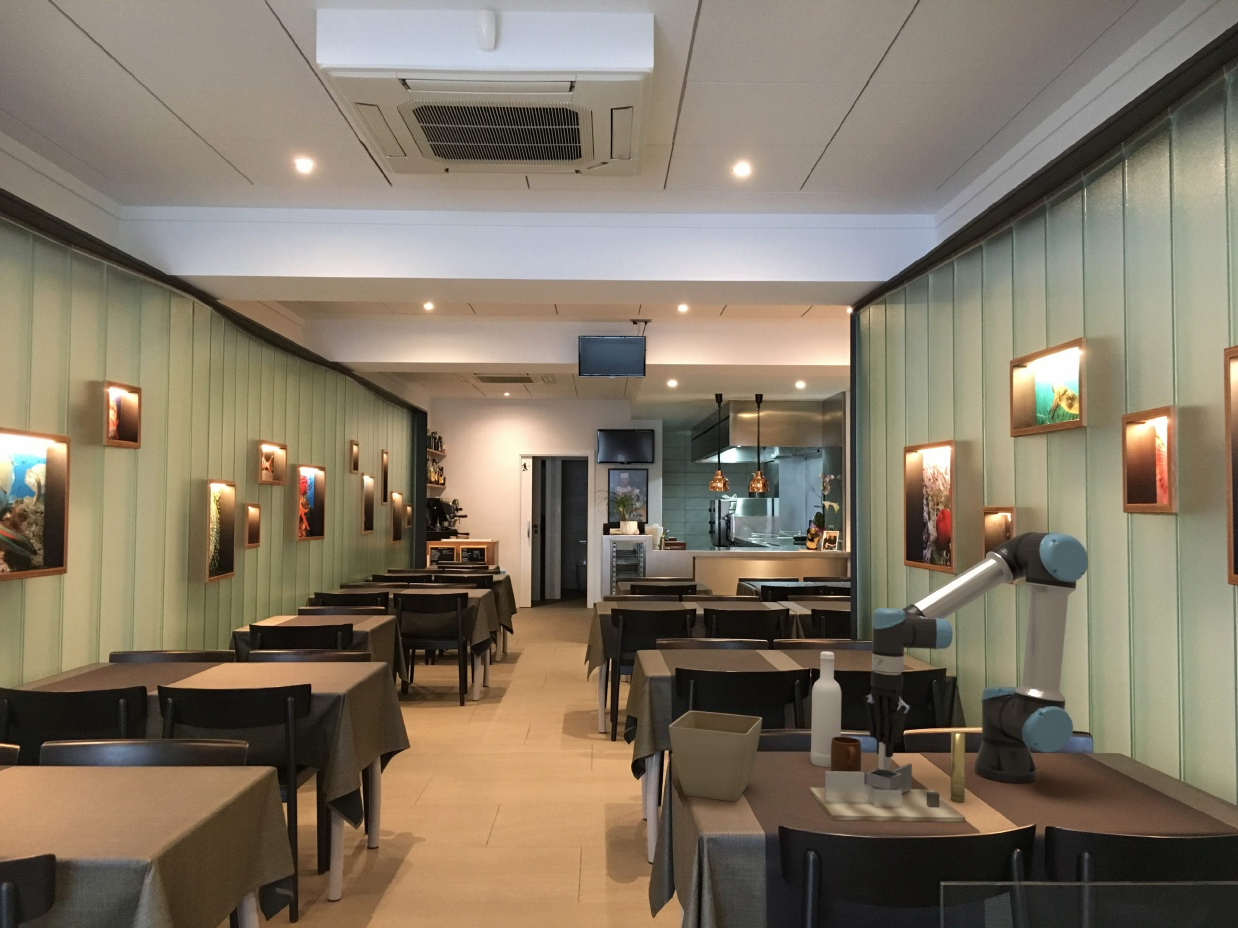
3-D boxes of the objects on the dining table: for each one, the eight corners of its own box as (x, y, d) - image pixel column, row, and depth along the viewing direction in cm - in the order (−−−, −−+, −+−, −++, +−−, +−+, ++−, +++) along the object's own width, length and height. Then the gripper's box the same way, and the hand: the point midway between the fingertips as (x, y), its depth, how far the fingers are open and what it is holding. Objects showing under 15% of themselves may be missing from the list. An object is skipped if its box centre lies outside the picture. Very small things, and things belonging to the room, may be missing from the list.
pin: (961, 798, 219) (962, 731, 220) (967, 802, 216) (967, 734, 217) (948, 798, 219) (949, 731, 220) (953, 802, 216) (954, 734, 217)
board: (931, 793, 222) (931, 789, 222) (965, 821, 202) (965, 817, 202) (810, 791, 221) (810, 787, 221) (832, 819, 201) (832, 815, 201)
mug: (868, 786, 227) (869, 748, 227) (838, 785, 227) (838, 747, 227) (856, 772, 239) (857, 736, 239) (827, 771, 239) (828, 735, 239)
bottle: (844, 762, 248) (846, 652, 249) (834, 769, 241) (836, 655, 243) (816, 757, 252) (818, 649, 253) (806, 763, 245) (808, 652, 247)
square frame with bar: (898, 786, 223) (898, 759, 223) (922, 792, 219) (922, 764, 219) (865, 801, 211) (865, 772, 211) (890, 807, 206) (890, 778, 207)
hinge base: (930, 799, 214) (930, 769, 215) (940, 808, 208) (940, 777, 208) (821, 797, 213) (822, 767, 214) (828, 806, 207) (829, 775, 208)
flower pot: (665, 797, 214) (667, 725, 214) (687, 775, 232) (689, 709, 232) (745, 808, 207) (746, 734, 208) (761, 785, 225) (763, 717, 226)
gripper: (856, 668, 226) (853, 764, 224) (899, 677, 215) (896, 778, 214) (875, 666, 230) (872, 760, 229) (919, 675, 219) (916, 774, 218)
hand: (884, 769), depth 221 cm, fingers closed
